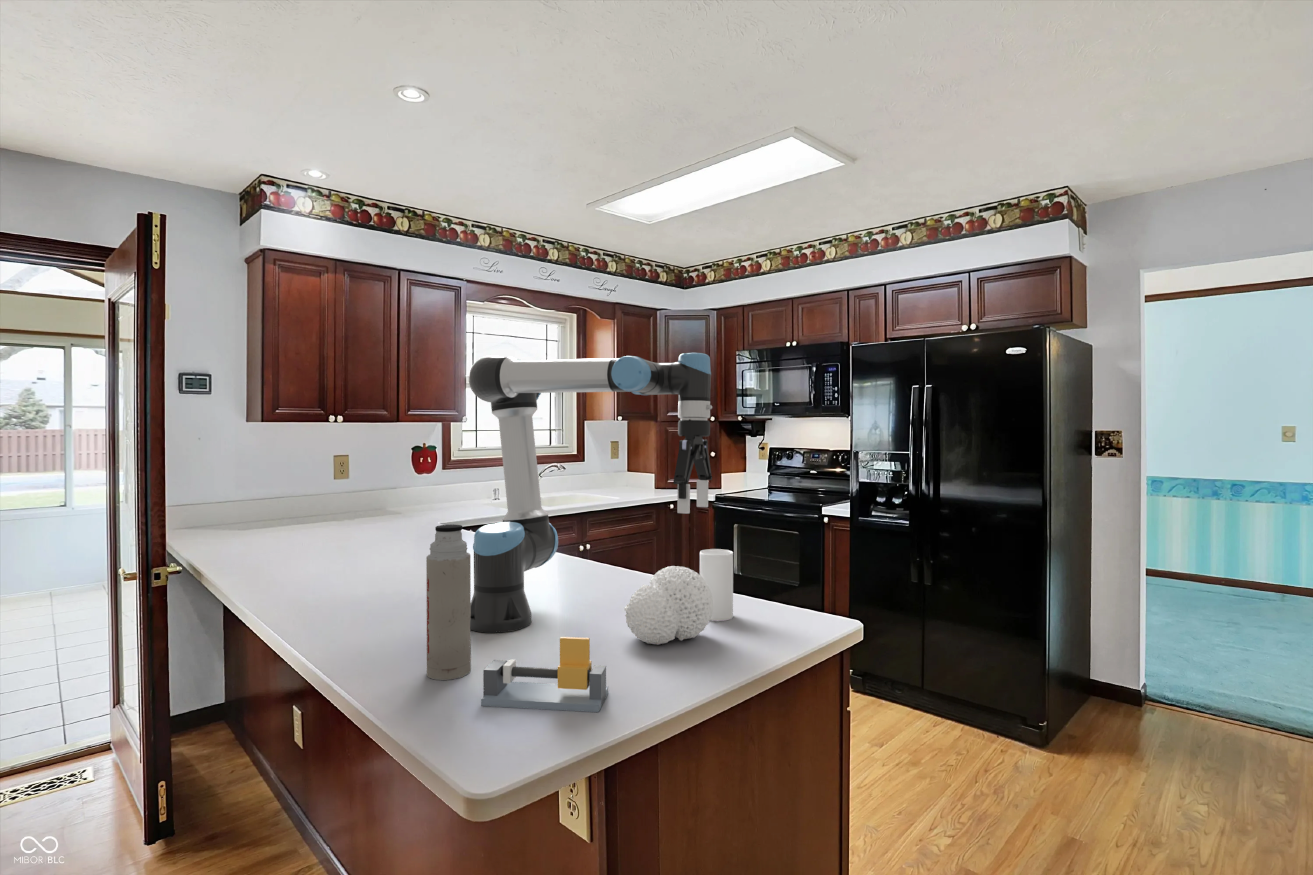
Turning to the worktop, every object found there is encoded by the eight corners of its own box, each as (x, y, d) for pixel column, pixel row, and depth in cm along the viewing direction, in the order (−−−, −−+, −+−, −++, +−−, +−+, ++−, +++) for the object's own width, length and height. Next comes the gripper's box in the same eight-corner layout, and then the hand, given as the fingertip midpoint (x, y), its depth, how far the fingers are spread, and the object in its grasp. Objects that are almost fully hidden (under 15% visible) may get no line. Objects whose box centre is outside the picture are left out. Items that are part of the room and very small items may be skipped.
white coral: (682, 584, 162) (679, 539, 151) (732, 631, 151) (732, 587, 140) (615, 631, 153) (607, 587, 143) (663, 685, 142) (658, 641, 132)
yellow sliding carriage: (557, 688, 112) (557, 640, 112) (563, 680, 115) (563, 634, 115) (586, 689, 111) (586, 641, 111) (591, 681, 115) (591, 635, 115)
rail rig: (480, 705, 111) (479, 669, 111) (497, 687, 119) (497, 653, 119) (598, 712, 109) (598, 675, 109) (608, 692, 117) (608, 658, 117)
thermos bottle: (421, 680, 122) (421, 528, 122) (432, 665, 130) (432, 522, 130) (466, 679, 123) (465, 528, 123) (474, 664, 131) (473, 522, 131)
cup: (731, 621, 160) (731, 555, 160) (697, 619, 162) (697, 554, 162) (734, 612, 168) (734, 549, 168) (701, 611, 170) (702, 548, 170)
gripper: (692, 418, 144) (691, 517, 144) (724, 420, 167) (723, 505, 167) (659, 418, 146) (658, 515, 147) (696, 420, 169) (695, 503, 170)
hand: (693, 510), depth 157 cm, fingers open, 13 cm apart
